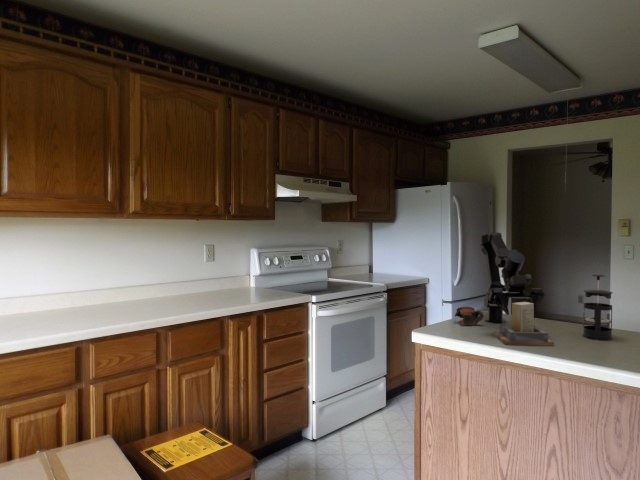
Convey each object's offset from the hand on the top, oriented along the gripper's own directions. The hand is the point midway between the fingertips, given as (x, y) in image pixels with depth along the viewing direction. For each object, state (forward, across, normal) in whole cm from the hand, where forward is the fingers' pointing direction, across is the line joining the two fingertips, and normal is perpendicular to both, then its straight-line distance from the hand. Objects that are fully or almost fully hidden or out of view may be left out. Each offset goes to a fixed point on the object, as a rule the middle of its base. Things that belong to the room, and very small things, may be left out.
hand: (521, 314), depth 164 cm
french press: (+2, +29, +11) cm, 31 cm away
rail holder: (+8, 0, +5) cm, 9 cm away
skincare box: (+7, 0, +4) cm, 8 cm away
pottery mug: (-10, -12, +24) cm, 29 cm away
